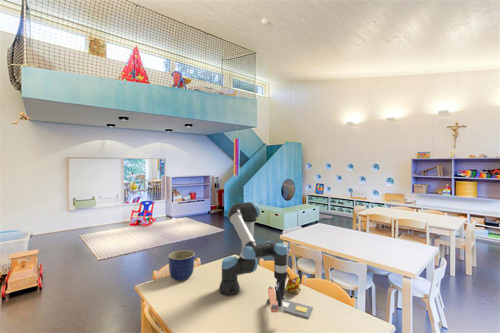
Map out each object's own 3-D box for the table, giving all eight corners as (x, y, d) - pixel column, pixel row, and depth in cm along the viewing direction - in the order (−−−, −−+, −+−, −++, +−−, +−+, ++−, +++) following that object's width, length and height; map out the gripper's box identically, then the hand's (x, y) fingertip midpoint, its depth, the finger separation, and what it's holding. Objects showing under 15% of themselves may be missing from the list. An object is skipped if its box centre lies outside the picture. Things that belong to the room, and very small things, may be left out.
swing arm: (267, 299, 168) (267, 285, 168) (273, 299, 168) (273, 285, 168) (271, 323, 143) (271, 307, 143) (278, 323, 143) (278, 307, 143)
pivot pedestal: (265, 303, 166) (265, 301, 166) (268, 299, 171) (268, 298, 171) (272, 305, 164) (272, 303, 164) (275, 301, 168) (275, 299, 168)
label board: (271, 308, 160) (271, 306, 160) (277, 299, 171) (277, 297, 171) (308, 318, 150) (308, 316, 150) (312, 308, 161) (312, 306, 161)
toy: (300, 294, 174) (290, 274, 177) (288, 298, 177) (278, 278, 180) (304, 286, 186) (294, 267, 189) (293, 290, 190) (284, 271, 193)
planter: (162, 279, 199) (162, 255, 199) (182, 270, 217) (182, 248, 216) (180, 286, 188) (180, 261, 188) (199, 275, 206) (199, 253, 206)
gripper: (283, 276, 138) (282, 318, 138) (290, 267, 149) (289, 306, 150) (270, 273, 141) (270, 315, 141) (278, 265, 153) (278, 303, 153)
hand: (280, 310), depth 145 cm, fingers closed
